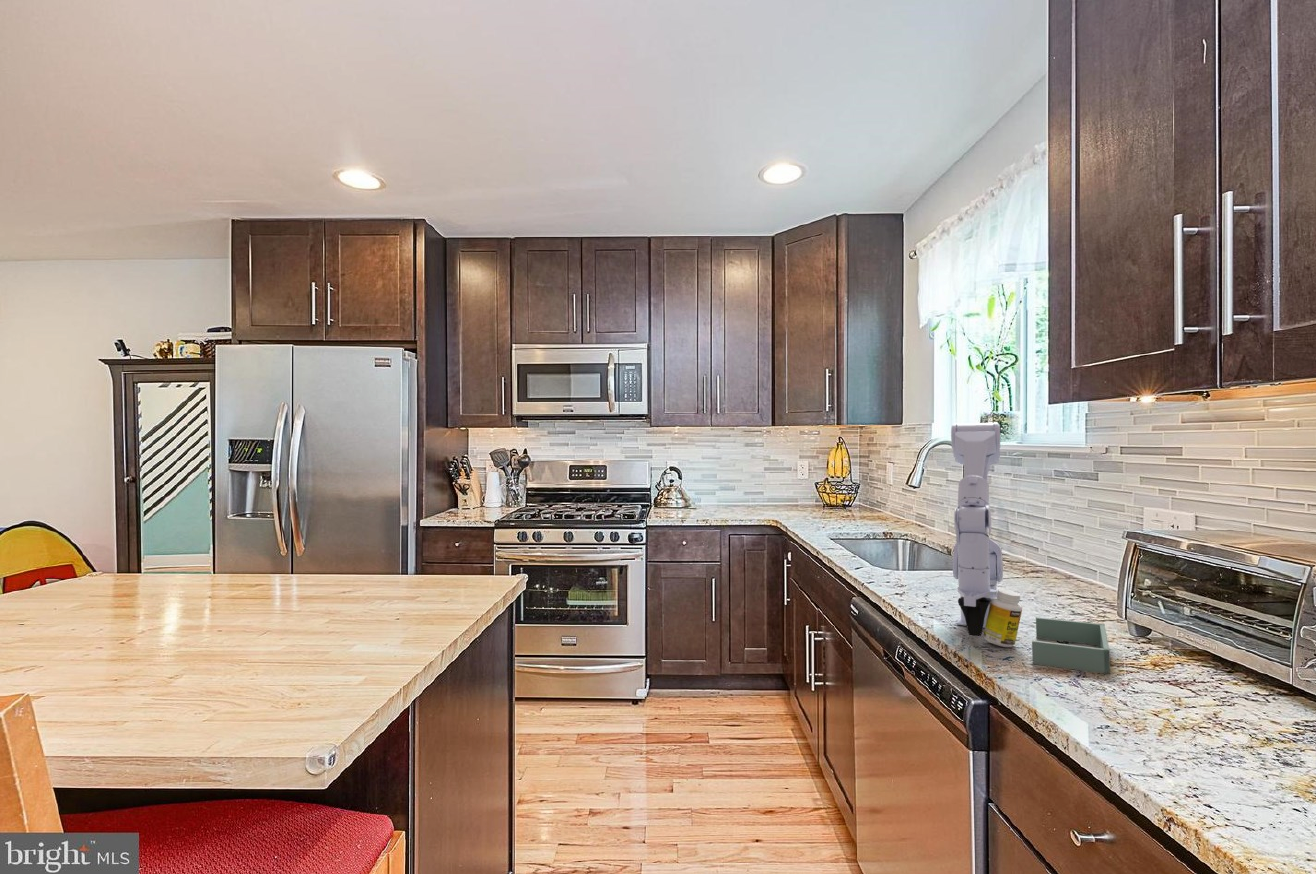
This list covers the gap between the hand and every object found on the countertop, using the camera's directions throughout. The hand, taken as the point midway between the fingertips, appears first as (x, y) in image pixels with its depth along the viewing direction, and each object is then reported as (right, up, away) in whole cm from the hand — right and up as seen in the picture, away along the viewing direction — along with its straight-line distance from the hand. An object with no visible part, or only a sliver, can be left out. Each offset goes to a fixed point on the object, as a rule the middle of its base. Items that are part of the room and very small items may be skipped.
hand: (975, 635), depth 135 cm
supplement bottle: (+4, -1, -2) cm, 4 cm away
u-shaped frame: (+14, -1, -8) cm, 16 cm away
